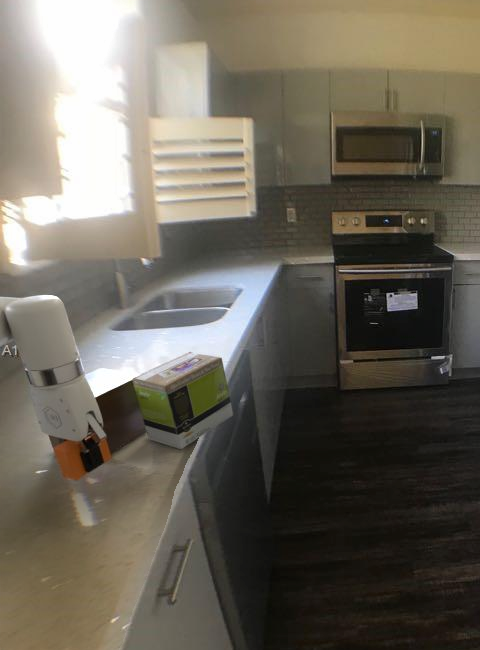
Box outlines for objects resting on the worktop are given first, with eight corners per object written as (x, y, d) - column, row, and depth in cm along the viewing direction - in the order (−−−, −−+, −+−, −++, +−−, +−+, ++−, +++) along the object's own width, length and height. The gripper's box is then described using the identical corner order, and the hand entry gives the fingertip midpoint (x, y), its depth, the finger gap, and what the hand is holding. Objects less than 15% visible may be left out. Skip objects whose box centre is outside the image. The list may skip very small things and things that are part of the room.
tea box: (202, 408, 108) (190, 349, 102) (234, 416, 104) (224, 356, 98) (146, 440, 95) (130, 375, 90) (180, 451, 91) (165, 384, 86)
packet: (63, 477, 79) (52, 448, 77) (99, 455, 85) (90, 427, 83) (76, 481, 78) (65, 451, 76) (111, 458, 84) (103, 430, 82)
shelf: (51, 454, 91) (31, 397, 87) (115, 419, 104) (101, 367, 99) (93, 466, 87) (74, 407, 83) (154, 427, 100) (141, 374, 95)
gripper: (-1, 375, 74) (35, 468, 81) (69, 388, 69) (101, 488, 76) (45, 357, 81) (75, 446, 88) (112, 368, 75) (139, 462, 82)
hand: (87, 464), depth 82 cm, fingers closed on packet, 3 cm apart
